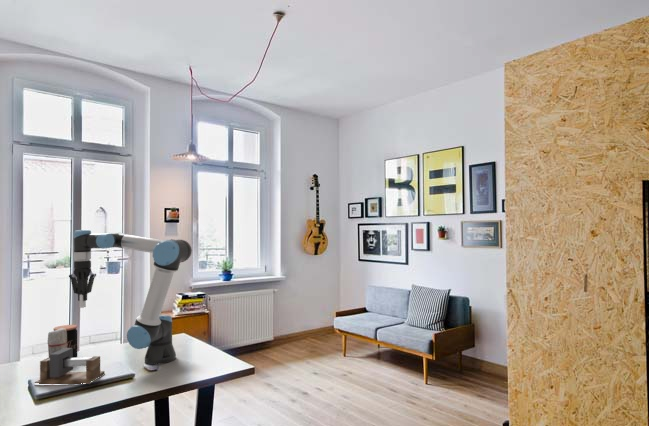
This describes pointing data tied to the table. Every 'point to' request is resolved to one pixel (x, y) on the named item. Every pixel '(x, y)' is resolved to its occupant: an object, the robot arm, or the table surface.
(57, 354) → the tall grey notched block
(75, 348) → the coffee jar
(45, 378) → the pipe stand
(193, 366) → the table surface
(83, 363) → the light grey long bar
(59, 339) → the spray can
